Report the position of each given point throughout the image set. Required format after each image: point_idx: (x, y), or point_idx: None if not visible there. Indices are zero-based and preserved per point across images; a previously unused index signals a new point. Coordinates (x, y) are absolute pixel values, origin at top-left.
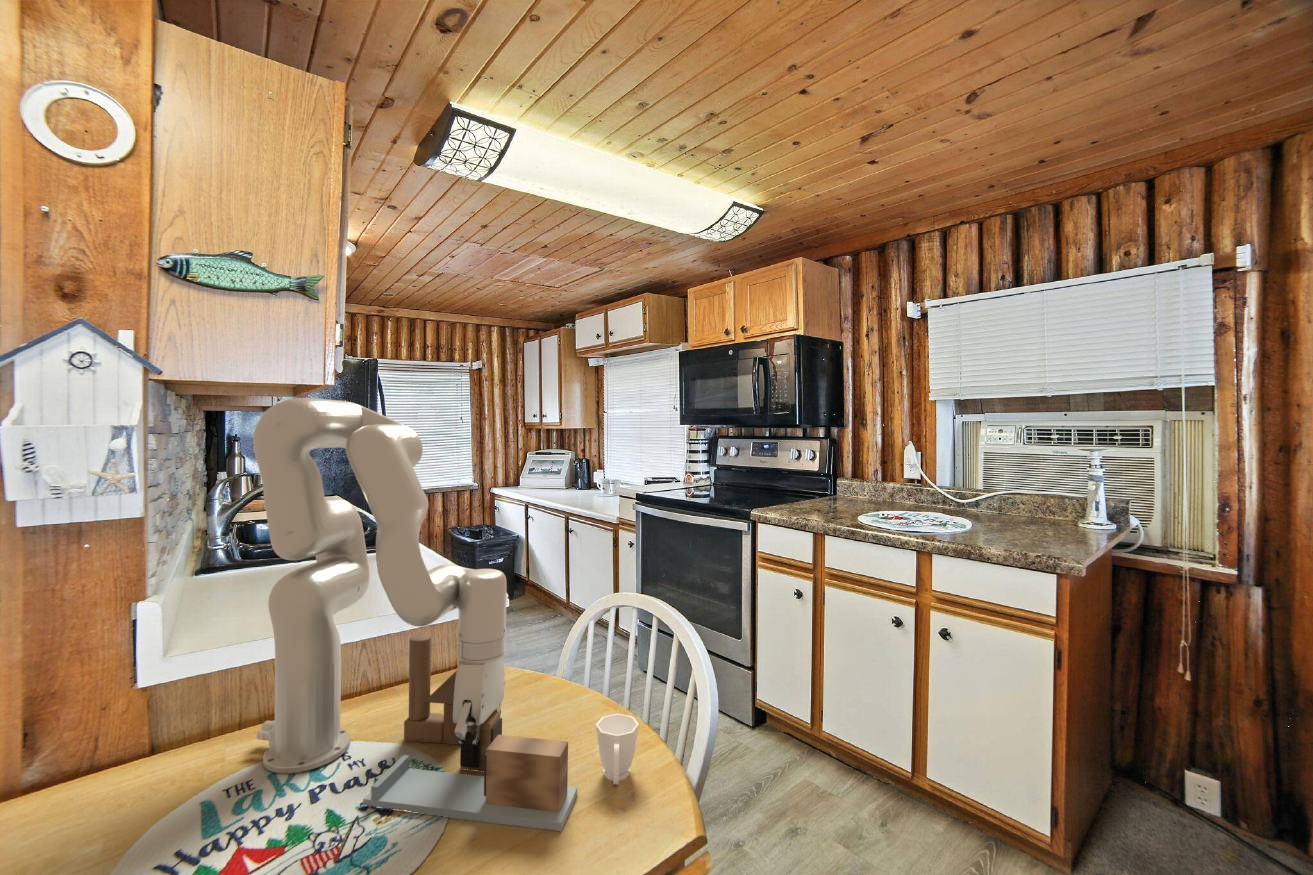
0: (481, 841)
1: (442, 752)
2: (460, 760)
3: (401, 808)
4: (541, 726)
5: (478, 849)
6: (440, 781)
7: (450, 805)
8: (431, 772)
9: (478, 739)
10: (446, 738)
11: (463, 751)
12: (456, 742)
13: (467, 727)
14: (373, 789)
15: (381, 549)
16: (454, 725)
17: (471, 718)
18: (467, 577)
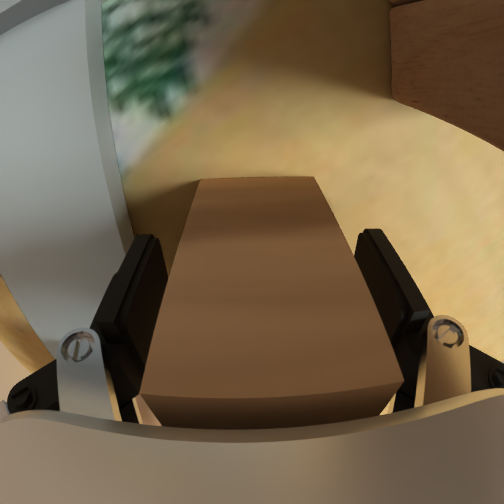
0: (26, 340)
1: (317, 28)
2: (131, 246)
3: None
4: (463, 313)
5: (16, 340)
6: (54, 192)
7: (13, 280)
8: (81, 114)
9: (135, 399)
10: (400, 21)
11: (97, 312)
12: (392, 73)
13: (117, 411)
14: None
15: None
16: (444, 69)
17: (217, 427)
18: None
